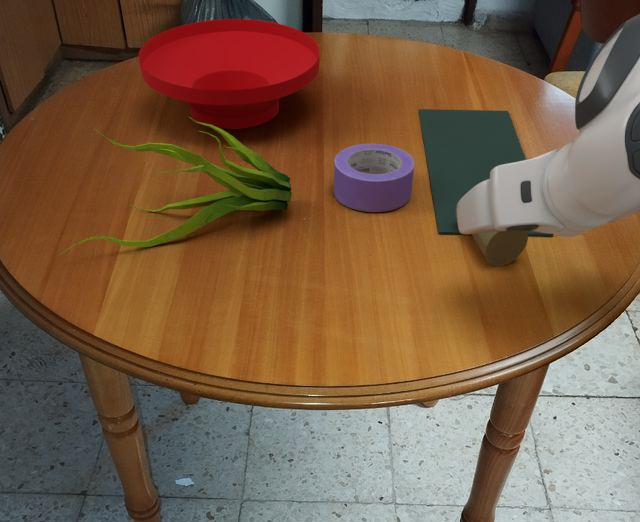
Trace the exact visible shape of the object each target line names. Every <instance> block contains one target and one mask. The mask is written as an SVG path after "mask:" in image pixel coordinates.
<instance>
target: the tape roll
mask: <svg viewBox="0 0 640 522" xmlns="http://www.w3.org/2000/svg"><path fill="white" fill-rule="evenodd" d="M333 161H334V164H333V166H334V167H333V195H334V197H335V200H336V201H338V202H339V203H340V204H341V205H343V206H344V207H347V208H349V209H352V210H355V211H360V212H367V213H386V212H390V211H394V210H397V209H400V208H402V207H404V206H405V205H407V204H408V202H410V199H411V197H412V190H413V183H414V182H413V181H414V172H415V160H414V158H413V157H412V156H411V154H410V153H409V152H407V151H405V150H404V149H402V148H400V147H397V146H393V145H389V144H382V143H361V144H355V145H352V146H349V147H346V148H343V149H341V151H339V152H338V153H337V154H336V155H335V157H334V160H333Z"/></svg>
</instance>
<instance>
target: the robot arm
mask: <svg viewBox="0 0 640 522" xmlns="http://www.w3.org/2000/svg"><path fill="white" fill-rule="evenodd" d="M574 101H575V103H574V121H575V123H574V124H575V127H576V130H578V134H577V135H576V138H575V139H574V140H571V141H570V142H568V143H566V144H564V146H562V147H561V148H554V149H553V150H550V151H548V152H545V153H543V154H540V155H537V156H535V157H530V158H526V159H525V160H521V161H516V162H511V163H507V164H503V165H499V166H496V167H495V168H493V169H492V170H491V171H490V179H488V180H485V181H483V182H481V183H479V184H477V185H476V186H474V187H473V188H472V189H471V190H470V191H468V192H467V193H466V194H465V195H464V196H463V197H462V198H461V199H460V200H459V202H458V204H457V222H458V228H459V231H460V233H462V234H476V233H488V232H501V231H535V232H541V233H548V234H553V235H555V236H558V237H563V238H574V237H578V236H582V235H584V234H586V233H588V232H590V231H593V230H595V229H597V228H599V227H601V226H604V225H605V224H614V223H618V222H621V221H624V220H626V219H628V218H630V217H631V216H634V215H635V214H637V213H638V212H639V211H640V13H639V14H636V15H635V16H633V17H631V18H629V19H628V20H626V21H624V22H623V23H622V24H620V26H619V27H618V28H617V29H616V30H615V31H614V32H613V33H611V35H610V36H609V37H608V38H607V40H606V41H605V42H604V43H603V44H602V45H601V47H600V48H599V49H598V51H597V52H596V53H595V54H594V56H593V58H592V59H591V60H590V62H589V64H588V66H587V68H586V69H585V71H584V73H583V76H582V78H581V80H580V83H579V85H578V89H577V92H576V96H575V99H574Z"/></svg>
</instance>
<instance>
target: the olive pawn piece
mask: <svg viewBox="0 0 640 522" xmlns="http://www.w3.org/2000/svg"><path fill="white" fill-rule="evenodd" d="M455 215H456V219H457V206H456V211H455ZM471 236H472V237H473V239H474V241H475V242H476V244H477V245H478V248H479V249H480V251H481V253H482V255H483V257H484V258H485V260H486V262H487V263H488V264H490V265H491V266H493V267H502V266H506V265H508V264H510V263H512V262H514V261H515V260H517V259H518V258H519V256H520V255H522V253H523V252H524V251H525V249H526V247H527V243H528V239H529V236H528V235H527V232H526V231H501V232H488V233H476V234H472V235H471Z"/></svg>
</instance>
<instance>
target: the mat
mask: <svg viewBox="0 0 640 522" xmlns="http://www.w3.org/2000/svg"><path fill="white" fill-rule="evenodd" d="M418 117H419V123H420V128H421V135H422V141H423V148H424V153H425V154H424V155H425V160H426V166H427V172H428V180H429V185H430V191H431V197H432V203H433V209H434V210H433V211H434V216H435V222H436V229H437V234H438V235H455V236H456V235H459V236H473V235H472V234H462V233H460V231H459V228H458V222H457V219H456V215H455V211H456V206H457V204H458V202H459V200H460V199H461V198H462V197H463V196H464V195H465V194H466V193H467V192H468V191H470V190H471V189H472V188H473V187H474V186H476V185H477V184H479V183H481V182H483V181H485V180H488V179H490V171H491V170H492V169H493V168H495V167H496V166H499V165H503V164H507V163H511V162H516V161H521V160H525V159H527V158H526V156H525V153H524V151H523V147H522V144H521V142H520V139H519V137H518V134H517V131H516V128H515V125H514V123H513V120H512V118H511V115H510V112H509V110H493V109H492V110H489V109H488V110H487V109H486V110H485V109H483V110H482V109H441V108H439V109H434V108H433V109H432V108H418ZM526 232H527V235H528V237H546V238H549V237H551V238H552V237H553V236H554V234H548V233H541V232H535V231H526Z"/></svg>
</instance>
